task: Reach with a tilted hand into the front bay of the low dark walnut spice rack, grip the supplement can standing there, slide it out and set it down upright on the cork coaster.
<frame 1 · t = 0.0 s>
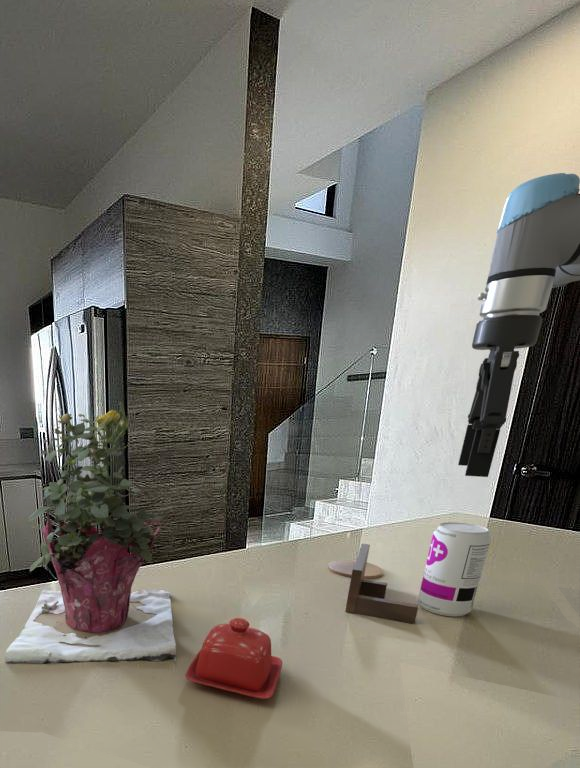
hand: (471, 470, 75), 25 cm above the countertop, tool pointing down, fingers open, 13 cm apart
spice rack: (405, 604, 88), on the countertop
potted flower: (99, 624, 81), on the countertop
cork coaster: (354, 570, 106), on the countertop
butter dish: (234, 677, 65), on the countertop
supplement can: (442, 609, 86), on the countertop
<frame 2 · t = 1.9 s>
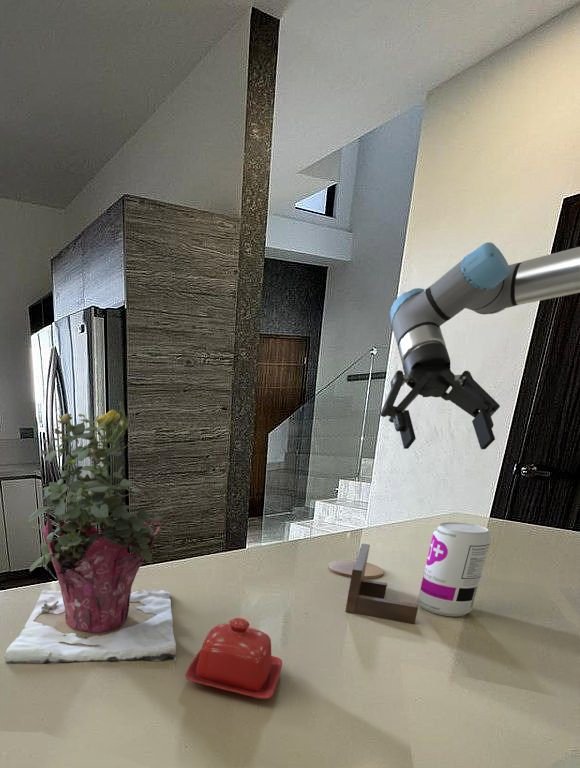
hand: (448, 444, 85), 28 cm above the countertop, tool tilted 45°, fingers open, 13 cm apart
nothing on the countertop moved.
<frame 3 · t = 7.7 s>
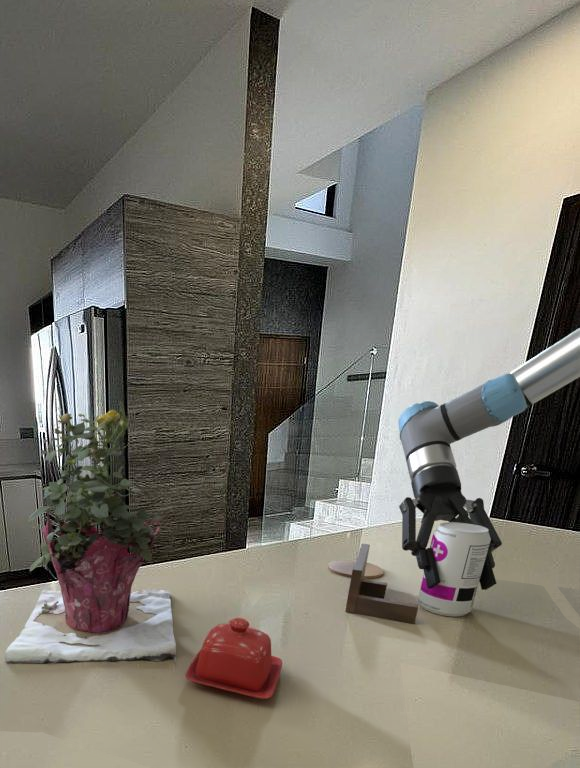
hand: (461, 585, 81), 6 cm above the countertop, tool tilted 45°, fingers closed on supplement can, 8 cm apart
supplement can: (442, 609, 86), on the countertop, touching gripper
everything else where it was.
when the fingers open (6 cm above the countertop, at t = 17.0 s): supplement can stays where it is, resting on cork coaster.
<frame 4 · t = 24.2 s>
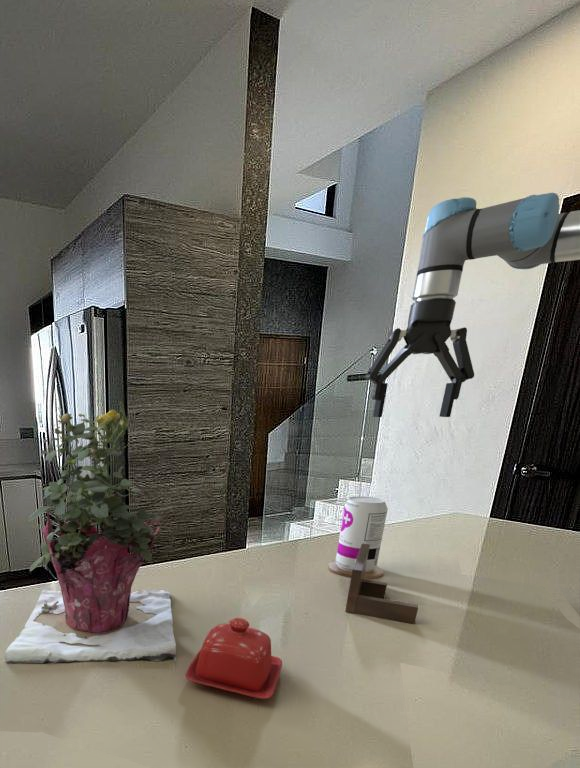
hand: (410, 417, 100), 32 cm above the countertop, tool pointing down, fingers open, 13 cm apart
supplement can: (354, 568, 105), resting on cork coaster
everything else where it was.
at the end: supplement can 0.0 cm off-centre on the cork coaster, point 0.4 cm above the cork coaster's base; supplement can tilted 0°; the gripper is holding nothing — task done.
